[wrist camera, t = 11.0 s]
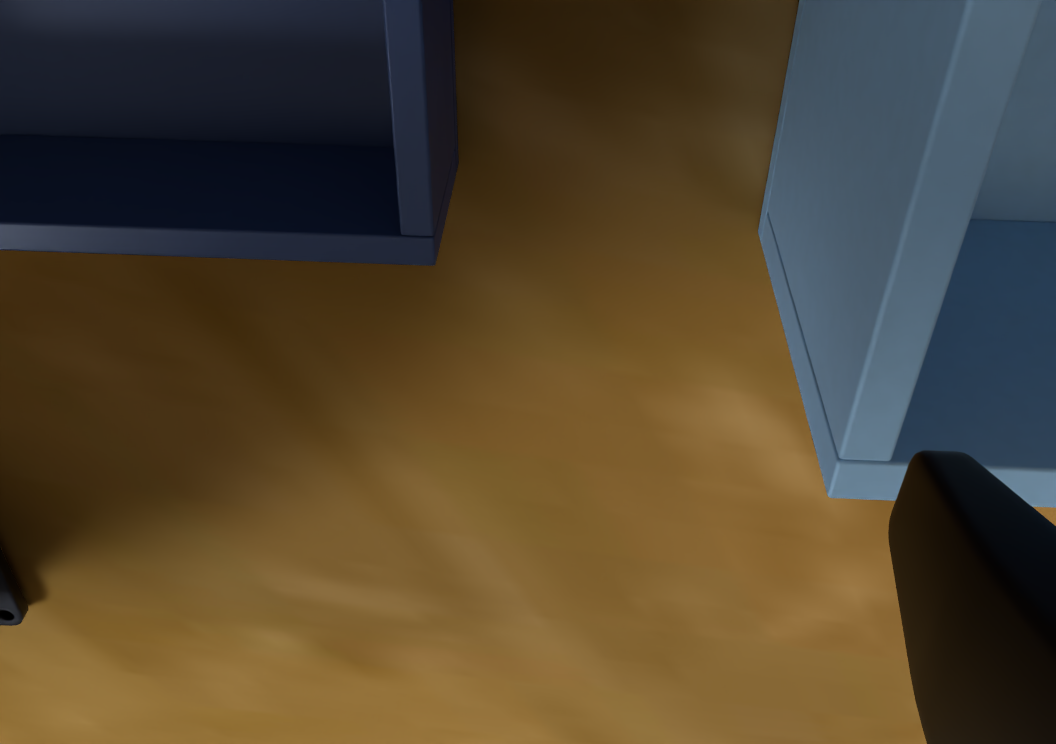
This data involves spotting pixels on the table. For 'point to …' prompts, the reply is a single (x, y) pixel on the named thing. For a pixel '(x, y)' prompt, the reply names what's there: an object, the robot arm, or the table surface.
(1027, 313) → the top bin
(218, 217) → the bottom bin
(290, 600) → the table surface
